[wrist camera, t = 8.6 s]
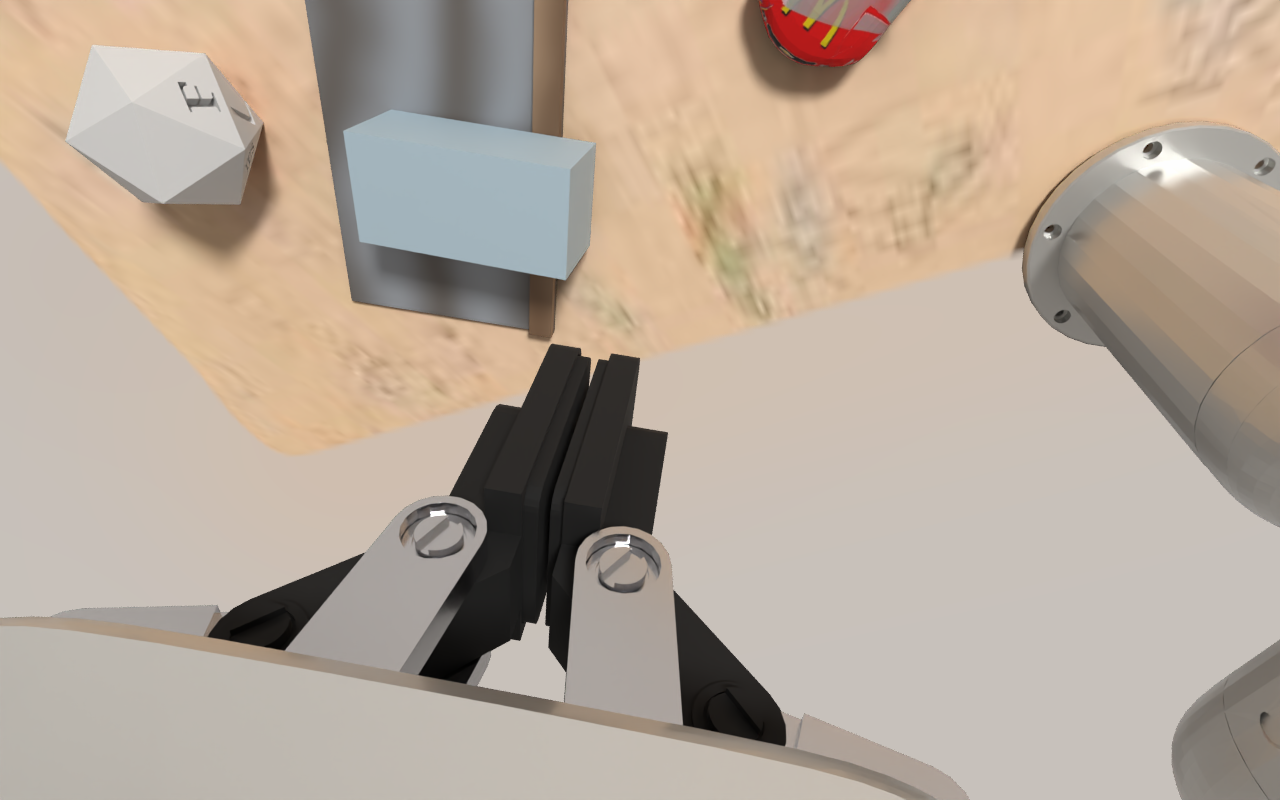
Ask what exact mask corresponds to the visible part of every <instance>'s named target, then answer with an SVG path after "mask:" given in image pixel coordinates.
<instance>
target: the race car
mask: <svg viewBox="0 0 1280 800" xmlns="http://www.w3.org/2000/svg"><path fill="white" fill-rule="evenodd" d="M909 2H910V0H759V4H760V9H761V13H762V17H763V21H764V24H765V27H766V30H767V33H768V36H769V38H770V39H771V41H772V42H773V43H774V45H775V46H776V48H777V49H778V50H779V51H780V52H781V53H782V54H783V55H785V56H786V57H788V58H789V59H791V60H793V61H795V62H798V63H800V64H802V65H811V66H826V67H835V66H846V65H850V64H854V63H856V62H858V61H859V60H861V59H862V58H863V57H864V56H865V55H866V54H867V53H868V52H869V51H870V50H871V49H872V47H873V46H874V45H875V44H876V43H877V41H878V40H879V39H880V38H881V36H882V35H883V34H884V32H885V31H886V29H887V28H888V27H889V25H890V24H891V23H892V22H893V21H894V19H895V18H896V17H897V16H898V15H899V13H900V12H901V11H902V10H903V9H904V8H905V6H906V5H907V4H908V3H909Z"/></svg>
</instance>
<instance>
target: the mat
mask: <svg viewBox="0 0 1280 800" xmlns="http://www.w3.org/2000/svg"><path fill="white" fill-rule="evenodd" d="M305 4H306V10H307V17H308V23H309V29H310V36H311V42H312V48H313V55H314V61H315V68H316V74H317V80H318V87H319V93H320V100H321V106H322V112H323V119H324V125H325V132H326V138H327V144H328V151H329V157H330V164H331V170H332V176H333V183H334V189H335V195H336V202H337V208H338V215H339V221H340V227H341V234H342V240H343V247H344V253H345V259H346V266H347V272H348V279H349V285H350V291H351V298H352V301H358V302H364V303H370V304H376V305H382V306H389V307H395V308H401V309H407V310H413V311H419V312H425V313H431V314H438V315H444V316H450V317H456V318H462V319H468V320H474V321H480V322H486V323H493V324H499V325H505V326H511V327H517V328H523V329H529V334H531V335H537V336H543V337H549V338H551V337H552V335H553V333H554V330H555V306H556V282H557V279H556V278H551V277H546V276H540V275H535V274H530V273H524V272H519V271H514V270H508V269H503V268H498V267H492V266H487V265H482V264H476V263H471V262H465V261H460V260H455V259H449V258H444V257H439V256H433V255H428V254H423V253H417V252H412V251H407V250H401V249H396V248H391V247H385V246H380V245H375V244H369V243H364V242H360V241H359V234H358V227H357V221H356V214H355V207H354V200H353V194H352V187H351V180H350V174H349V167H348V160H347V154H346V147H345V140H344V133H343V131H344V130H346V129H348V128H351V127H353V126H355V125H358V124H360V123H362V122H364V121H367V120H369V119H371V118H373V117H376V116H378V115H380V114H382V113H385V112H387V111H389V110H398V111H404V112H410V113H416V114H422V115H428V116H434V117H440V118H446V119H453V120H459V121H465V122H471V123H477V124H483V125H489V126H495V127H501V128H507V129H513V130H519V131H526V132H532V133H538V134H544V135H550V136H556V137H562V136H563V112H564V88H565V64H566V40H567V15H568V0H305Z"/></svg>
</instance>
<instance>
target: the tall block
mask: <svg viewBox="0 0 1280 800" xmlns="http://www.w3.org/2000/svg"><path fill="white" fill-rule="evenodd" d="M343 133H344V140H345V147H346V154H347V160H348V167H349V174H350V180H351V187H352V194H353V200H354V207H355V214H356V221H357V227H358V234H359V241H360V242H364V243H369V244H375V245H380V246H385V247H391V248H396V249H401V250H407V251H412V252H417V253H423V254H428V255H433V256H439V257H444V258H449V259H455V260H460V261H465V262H471V263H476V264H482V265H487V266H492V267H498V268H503V269H508V270H514V271H519V272H524V273H530V274H535V275H540V276H546V277H551V278H556V279H562V280H566V279H567V278H568V276H569V275H570V273H571V272H572V271H573V269H574V268H575V266H576V265H577V263H578V262H579V260H580V259H581V257H582V256H583V255H584V253H585V252H586V250H587V249H588V247H589V246H590V234H591V218H592V201H593V185H594V169H595V153H596V143H592V142H586V141H580V140H574V139H568V138H562V137H556V136H550V135H544V134H538V133H532V132H526V131H519V130H513V129H507V128H501V127H495V126H489V125H483V124H477V123H471V122H465V121H459V120H453V119H446V118H440V117H434V116H428V115H422V114H416V113H410V112H404V111H398V110H389V111H387V112H385V113H382V114H380V115H378V116H376V117H373V118H371V119H369V120H367V121H364V122H362V123H360V124H358V125H355V126H353V127H351V128H348V129H346V130H344V131H343Z"/></svg>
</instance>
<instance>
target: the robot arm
mask: <svg viewBox="0 0 1280 800" xmlns="http://www.w3.org/2000/svg"><path fill="white" fill-rule="evenodd" d="M1147 144H1149V146H1148V147H1147V148H1146V149H1145V150H1143V149H1144V148H1145V147H1146V145H1147ZM1050 225H1051V227H1050V228H1049V229H1047V230H1045V229H1046V228H1047V227H1048V226H1050ZM1022 272H1023V278H1024V286H1025V288H1026V291H1027V293H1028V296H1029V298H1030V301H1031V303H1032V304H1033V305H1034V307H1035V308H1036V310H1037V311H1038V313H1039V314H1040V315H1041V317H1042V318H1043V319H1044V320H1045V321H1046V322H1047V323H1048V324H1049V325H1050V326H1051V327H1052V328H1054V329H1055V330H1057V331H1059V332H1060V333H1062V334H1064V335H1065V336H1067V337H1069V338H1072V339H1074V340H1077V341H1080V342H1083V343H1086V344H1091V345H1098V346H1104V347H1107V349H1108V350H1109V351H1110V352H1111V353H1112V355H1113V356H1114V357H1115V358H1116V359H1117V361H1118V362H1119V363H1120V364H1121V365H1122V367H1123V368H1124V369H1125V370H1126V371H1127V373H1128V374H1129V375H1130V376H1131V377H1132V379H1133V380H1134V381H1135V382H1136V383H1137V385H1138V386H1139V387H1140V388H1141V389H1142V390H1143V392H1144V393H1145V394H1146V396H1147V397H1148V398H1149V399H1150V400H1151V402H1152V403H1153V404H1154V405H1155V406H1156V408H1157V409H1158V410H1159V411H1160V412H1161V413H1162V415H1163V416H1164V417H1165V418H1166V420H1167V421H1168V422H1169V423H1170V424H1171V426H1172V427H1173V428H1174V429H1175V430H1176V432H1177V433H1178V434H1179V435H1180V436H1181V438H1182V439H1183V440H1184V441H1185V443H1186V444H1187V445H1188V446H1189V447H1190V449H1191V450H1192V451H1193V452H1194V453H1195V454H1196V456H1197V457H1198V458H1199V459H1200V460H1201V462H1202V463H1203V464H1204V465H1205V466H1206V467H1207V468H1208V469H1209V470H1210V472H1211V473H1212V474H1213V475H1214V476H1215V478H1216V479H1217V480H1218V481H1219V482H1220V484H1221V485H1222V486H1223V487H1224V488H1225V489H1226V490H1227V491H1228V492H1229V493H1230V494H1231V495H1232V496H1233V497H1234V498H1235V499H1236V500H1237V501H1238V502H1240V503H1241V504H1242V505H1243V506H1245V507H1246V508H1247V509H1249V510H1250V511H1251V512H1253V513H1254V514H1256V515H1257V516H1259V517H1261V518H1263V519H1264V520H1266V521H1269V522H1270V523H1272V524H1274V525H1276V526H1278V527H1280V153H1279V152H1278V151H1277V150H1276V149H1275V148H1274V147H1273V146H1272V145H1271V144H1270V143H1268V142H1266V141H1265V140H1263V139H1261V138H1259V137H1257V136H1255V135H1254V134H1252V133H1250V132H1247V131H1244V130H1242V129H1239V128H1236V127H1234V126H1231V125H1227V124H1220V123H1213V122H1207V121H1197V122H1177V123H1173V124H1168V125H1163V126H1159V127H1154V128H1150V129H1147V130H1145V131H1142V132H1139V133H1137V134H1134V135H1131V136H1129V137H1126V138H1123V139H1122V140H1120V141H1118V142H1116V143H1114V144H1112V145H1111V146H1109V147H1107V148H1105V149H1103V150H1101V151H1100V152H1098V153H1096V154H1095V155H1094V156H1092V157H1091V158H1090V159H1088V160H1087V161H1086V162H1084V163H1083V164H1082V165H1080V166H1079V167H1078V168H1076V169H1075V170H1074V171H1073V172H1072V173H1071V174H1070V175H1069V176H1068V177H1067V178H1066V179H1065V180H1064V181H1063V182H1062V183H1061V184H1060V185H1059V186H1058V187H1057V188H1056V189H1055V190H1054V192H1053V193H1052V194H1051V196H1050V197H1049V198H1048V200H1047V201H1046V202H1045V204H1044V205H1043V206H1042V208H1041V209H1040V211H1039V213H1038V215H1037V217H1036V219H1035V221H1034V222H1033V224H1032V226H1031V228H1030V231H1029V234H1028V237H1027V241H1026V244H1025V247H1024V253H1023V264H1022ZM639 365H640V358H636V357H630V356H624V355H618V354H611V356H610V358H609V361H607V360H601V359H599V360H598V363H597V366H596V369H595V372H594V374H593V378H592V380H591V383H590V386H589V379H590V367H591V358H589V357H583V356H581V349H580V348H575V347H569V346H563V345H557V344H551V345H550V347H549V349H548V351H547V353H546V356H545V358H544V360H543V362H542V364H541V366H540V369H539V371H538V373H537V375H536V377H535V379H534V381H533V384H532V386H531V388H530V390H529V392H528V394H527V397H526V399H525V401H524V403H523V405H522V407H521V408H520V407H514V406H508V405H502V404H499V405H497V406H496V407H495V409H494V410H493V412H492V414H491V416H490V418H489V420H488V422H487V424H486V426H485V428H484V430H483V432H482V434H481V435H480V438H479V439H478V441H477V443H476V445H475V447H474V449H473V451H472V453H471V455H470V457H469V459H468V461H467V463H466V465H465V466H464V469H463V470H462V472H461V474H460V476H459V478H458V480H457V482H456V484H455V486H454V488H453V490H452V492H451V494H450V495H449V496H433V497H429V498H425V499H422V500H419V501H416V502H414V503H413V504H411V505H409V506H407V507H405V508H404V509H403V510H402V511H401V512H400V513H399V514H398V515H397V516H395V518H394V519H393V520H392V522H390V524H389V525H388V526H387V527H386V529H385V530H384V531H383V532H382V533H381V535H380V536H379V537H378V538H377V539H376V541H375V542H374V543H373V544H372V546H371V547H370V548H369V549H368V550H367V552H365V553H363V554H360V555H358V556H355V557H353V558H350V559H348V560H346V561H343V562H341V563H339V564H336V565H333V566H331V567H329V568H326V569H324V570H321V571H319V572H316V573H314V574H311V575H309V576H307V577H304V578H302V579H299V580H297V581H294V582H292V583H289V584H287V585H284V586H282V587H279V588H277V589H274V590H272V591H270V592H267V593H265V594H262V595H260V596H257V597H255V598H252V599H250V600H248V601H246V602H244V603H242V604H241V605H239V606H237V607H235V608H233V609H232V610H231V611H230V612H220V610H219V608H218V606H217V605H212V606H211V605H209V606H169V607H168V606H167V607H166V606H165V607H123V608H84V609H76V610H70V611H64V612H61V613H58V614H56V615H53V616H51V617H15V618H14V617H12V618H0V800H969V798H968V796H967V794H966V793H965V792H964V791H963V790H962V789H961V787H960V786H959V785H957V783H956V782H955V781H954V780H953V779H952V778H951V777H949V776H948V775H946V774H944V773H943V772H941V771H939V770H938V769H936V768H934V767H933V766H930V765H928V764H925V763H923V762H921V761H918V760H916V759H913V758H911V757H909V756H906V755H904V754H901V753H899V752H897V751H894V750H892V749H889V748H886V747H884V746H882V745H880V744H877V743H875V742H872V741H870V740H868V739H865V738H863V737H860V736H858V735H855V734H853V733H850V732H848V731H846V730H843V729H841V728H838V727H836V726H834V725H831V724H829V723H826V722H824V721H822V720H819V719H817V718H814V717H812V716H809V715H807V714H804V715H803V717H802V719H798V718H796V717H793V716H791V715H789V714H786V713H784V712H782V711H781V710H780V708H779V707H778V705H777V704H776V703H775V701H774V700H773V698H772V697H771V695H770V694H769V693H768V692H767V691H766V690H765V689H764V688H763V687H762V686H761V684H760V683H759V682H758V681H757V680H756V679H755V678H754V677H753V676H752V675H751V673H750V672H749V671H748V670H747V669H746V668H745V667H744V666H743V665H742V664H741V663H740V662H739V660H738V659H737V658H736V657H735V656H734V655H733V654H732V653H731V652H730V651H729V650H728V649H727V647H726V646H725V645H724V644H723V643H722V642H721V641H720V640H719V639H718V638H717V637H716V635H715V634H714V633H713V632H712V631H711V630H710V629H709V628H708V627H707V626H706V625H705V624H704V622H703V621H702V620H701V619H700V618H699V617H698V616H697V615H696V614H695V613H694V612H693V610H692V609H691V608H690V607H689V606H688V605H687V604H686V603H685V602H684V601H683V600H682V599H681V598H680V596H679V595H678V594H677V593H676V592H675V591H674V590H673V581H672V580H673V579H672V565H671V561H670V557H669V554H668V552H667V551H666V549H665V548H664V546H663V545H662V543H661V542H659V541H658V540H657V539H655V538H654V537H653V536H652V531H653V525H654V518H655V512H656V506H657V499H658V493H659V487H660V480H661V473H662V468H663V461H664V455H665V449H666V442H667V435H668V433H667V432H662V431H656V430H650V429H644V428H638V427H632V419H633V410H634V403H635V396H636V387H637V380H638V373H639ZM546 592H547V598H546V623H545V624H546V626H550V627H549V628H550V629H549V649H550V650H551V652H552V653H553V654H554V656H555V657H556V659H557V660H558V662H559V663H560V664H561V666H562V667H563V669H564V670H565V672H566V682H565V695H564V703H563V702H558V701H553V700H548V699H542V698H537V697H531V696H526V695H521V694H515V693H510V692H504V691H499V690H494V689H488V688H483V687H478V686H477V685H478V684H479V682H480V680H481V678H482V676H483V674H484V672H485V670H486V668H487V666H488V663H489V660H490V657H491V651H492V650H493V649H495V648H497V647H499V646H501V645H503V644H505V643H506V642H508V641H510V639H513V640H519V641H520V640H521V637H522V633H523V630H524V627H525V624H526V622H529V623H535V624H536V623H537V621H538V619H539V616H540V612H541V609H542V606H543V602H544V599H545V596H546ZM1172 768H1173V774H1174V777H1175V781H1176V785H1177V788H1178V791H1179V794H1180V797H1181V799H1182V800H1280V640H1279V641H1277V642H1276V643H1274V644H1273V645H1271V646H1270V647H1268V648H1267V649H1266V650H1264V651H1263V652H1261V653H1260V654H1258V655H1257V656H1256V657H1254V658H1253V659H1251V660H1250V661H1248V662H1247V663H1245V664H1244V665H1243V666H1241V667H1240V668H1238V669H1237V670H1235V671H1234V672H1232V673H1231V674H1230V675H1228V676H1227V677H1225V678H1224V679H1223V680H1221V681H1220V682H1219V683H1217V684H1216V685H1214V686H1213V687H1212V688H1211V689H1209V690H1208V691H1207V692H1206V693H1205V694H1203V695H1202V696H1201V697H1200V698H1199V699H1197V700H1196V702H1195V703H1194V704H1193V705H1192V706H1191V707H1190V708H1189V709H1188V710H1187V712H1186V713H1185V714H1184V716H1183V717H1182V719H1181V720H1180V723H1179V724H1178V726H1177V728H1176V732H1175V734H1174V738H1173V742H1172Z"/></svg>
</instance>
